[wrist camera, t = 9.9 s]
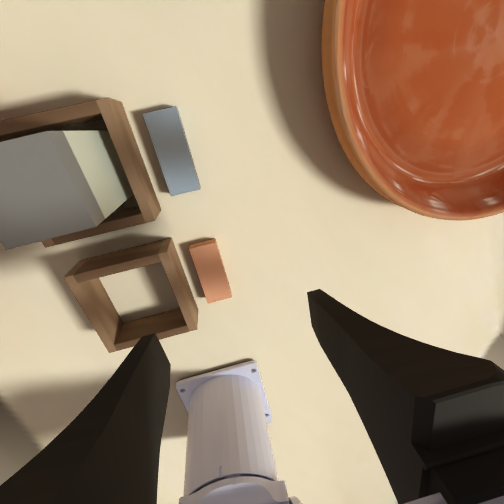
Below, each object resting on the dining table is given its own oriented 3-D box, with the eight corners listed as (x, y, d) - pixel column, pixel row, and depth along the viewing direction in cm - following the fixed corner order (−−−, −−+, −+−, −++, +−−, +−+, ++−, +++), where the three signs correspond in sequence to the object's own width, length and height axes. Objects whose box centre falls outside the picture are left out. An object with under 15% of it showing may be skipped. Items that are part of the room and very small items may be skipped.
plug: (134, 193, 18) (96, 226, 12) (75, 208, 18) (6, 249, 12) (108, 130, 17) (47, 130, 10) (42, 146, 16) (-60, 156, 10)
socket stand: (233, 300, 23) (236, 318, 21) (119, 330, 23) (109, 352, 20) (172, 90, 16) (166, 84, 14) (5, 127, 16) (-28, 127, 13)
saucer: (606, -446, 11) (777, -692, 8) (665, 47, 20) (756, 31, 17) (231, 28, 16) (237, 1, 12) (414, 258, 25) (447, 278, 21)
